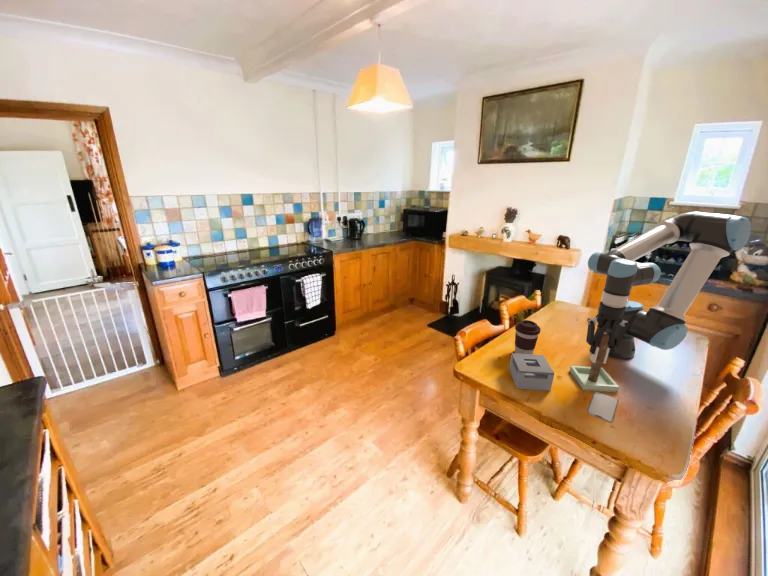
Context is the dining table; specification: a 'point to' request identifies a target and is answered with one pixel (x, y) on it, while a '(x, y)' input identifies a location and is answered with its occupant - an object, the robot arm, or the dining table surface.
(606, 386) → the tray
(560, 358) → the dining table surface
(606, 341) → the brown wooden bar
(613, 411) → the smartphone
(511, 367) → the grey slotted box
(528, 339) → the coffee cup
